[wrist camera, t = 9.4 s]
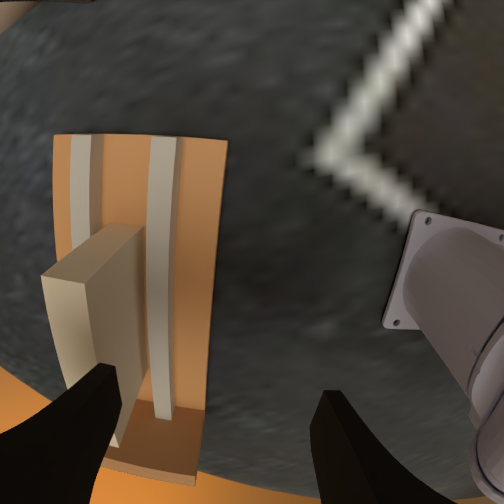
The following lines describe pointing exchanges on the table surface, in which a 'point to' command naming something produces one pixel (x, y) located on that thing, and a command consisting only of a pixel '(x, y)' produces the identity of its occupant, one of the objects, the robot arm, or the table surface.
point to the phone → (77, 0)
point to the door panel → (101, 311)
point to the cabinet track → (154, 274)
